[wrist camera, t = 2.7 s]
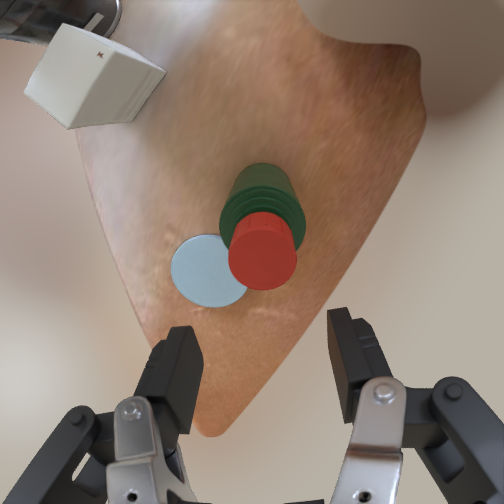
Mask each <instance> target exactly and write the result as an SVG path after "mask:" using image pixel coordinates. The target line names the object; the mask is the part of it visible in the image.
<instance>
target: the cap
mask: <svg viewBox="0 0 504 504" xmlns="http://www.w3.org/2000/svg"><path fill="white" fill-rule="evenodd" d="M294 245H295V244H294V240H293V236H292V232H291V229H290V228H289V226H288V225H287V223H286V222H285V221H284V220H283V219H282V218H281V217H279V216H277V215H275V214H273V213H269V212H256V213H252V214H249V215H248V216H246V217H245V218H243V219H242V220H241V221H240V222H239V223H237V226H236V228H235V231H234V234H233V237H232V240H231V243H230V247H229V251H228V254H229V255H228V264H229V268H230V271H231V273H232V275H233V276H234V277H235V279H236V280H237V281H238V282H240V283H241V284H242V285H244V286H246V287H248V288H251V289H254V290H270V289H274V288H277V287H279V286H281V285H282V284H284V283H285V282H286V281H287V280H288V279H289V278H290V277H291V276H292V274H293V272H294V270H295V267H296V262H297V256H296V251H295V247H294Z"/></svg>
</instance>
